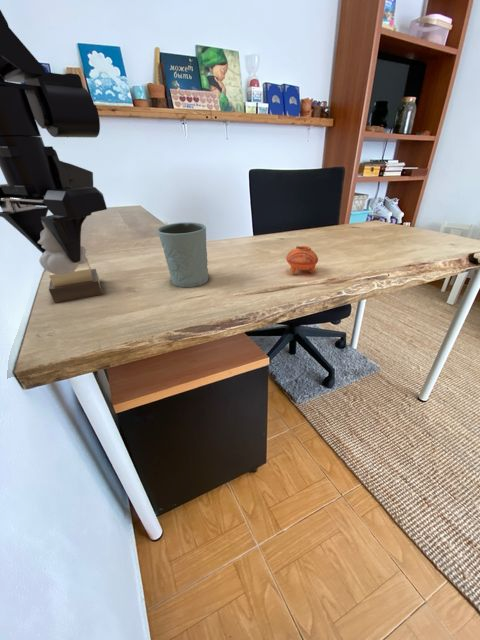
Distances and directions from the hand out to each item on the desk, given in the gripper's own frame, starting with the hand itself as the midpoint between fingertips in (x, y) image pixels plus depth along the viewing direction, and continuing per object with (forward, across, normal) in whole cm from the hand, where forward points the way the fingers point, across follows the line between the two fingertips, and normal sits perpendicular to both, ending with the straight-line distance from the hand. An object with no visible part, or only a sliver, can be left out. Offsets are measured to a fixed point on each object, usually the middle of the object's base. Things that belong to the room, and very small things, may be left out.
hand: (64, 260), depth 46 cm
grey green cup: (+12, -5, -24) cm, 28 cm away
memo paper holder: (+12, +15, -10) cm, 22 cm away
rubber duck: (+2, 0, 0) cm, 2 cm away
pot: (+12, -28, -40) cm, 50 cm away
